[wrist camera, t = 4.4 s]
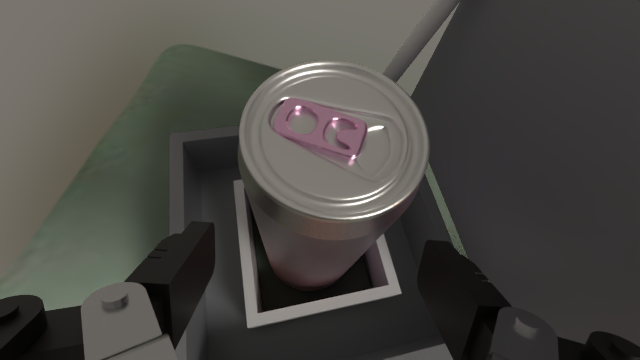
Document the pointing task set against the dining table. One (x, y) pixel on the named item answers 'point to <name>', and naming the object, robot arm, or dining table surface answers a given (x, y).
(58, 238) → the dining table surface
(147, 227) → the dining table surface
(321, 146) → the beverage can
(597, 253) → the equipment case
